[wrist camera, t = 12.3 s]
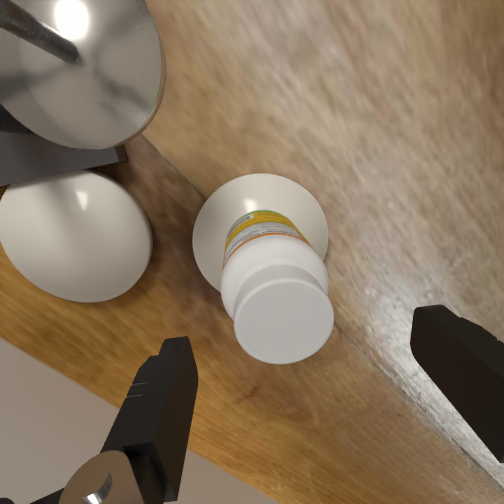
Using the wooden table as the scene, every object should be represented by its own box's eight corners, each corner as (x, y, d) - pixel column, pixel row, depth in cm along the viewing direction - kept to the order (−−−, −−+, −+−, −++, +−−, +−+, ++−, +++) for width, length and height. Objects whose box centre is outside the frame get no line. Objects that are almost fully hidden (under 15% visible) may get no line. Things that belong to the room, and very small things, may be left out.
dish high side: (132, 156, 18) (125, 157, 17) (166, 286, 21) (162, 294, 20) (-15, 174, 18) (-32, 176, 17) (43, 301, 21) (33, 310, 20)
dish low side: (322, 164, 19) (327, 165, 18) (324, 288, 22) (329, 295, 21) (182, 181, 19) (179, 183, 17) (207, 303, 22) (205, 310, 21)
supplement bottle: (292, 279, 20) (337, 380, 11) (223, 274, 20) (212, 376, 11) (304, 211, 19) (368, 267, 10) (228, 204, 18) (219, 256, 9)
